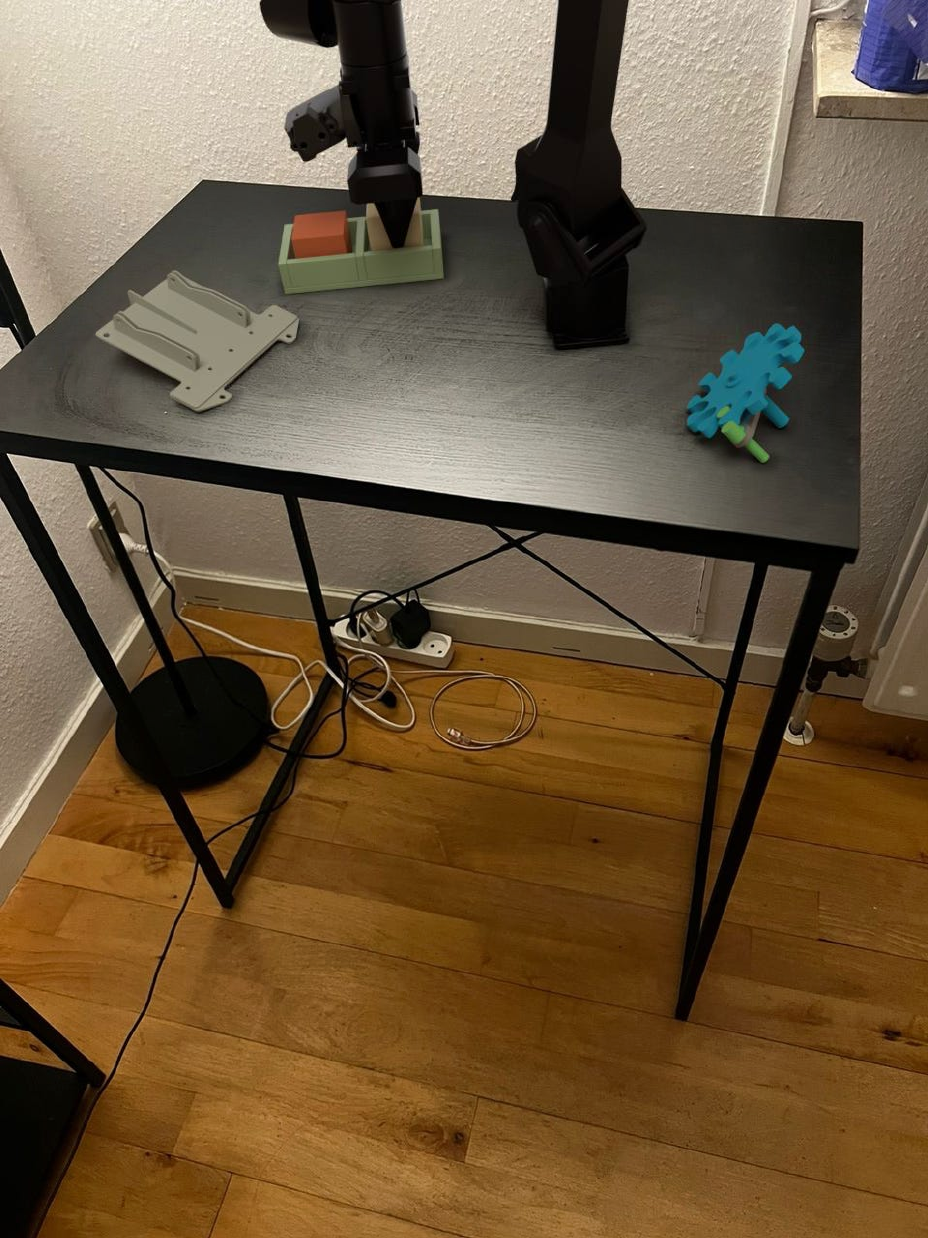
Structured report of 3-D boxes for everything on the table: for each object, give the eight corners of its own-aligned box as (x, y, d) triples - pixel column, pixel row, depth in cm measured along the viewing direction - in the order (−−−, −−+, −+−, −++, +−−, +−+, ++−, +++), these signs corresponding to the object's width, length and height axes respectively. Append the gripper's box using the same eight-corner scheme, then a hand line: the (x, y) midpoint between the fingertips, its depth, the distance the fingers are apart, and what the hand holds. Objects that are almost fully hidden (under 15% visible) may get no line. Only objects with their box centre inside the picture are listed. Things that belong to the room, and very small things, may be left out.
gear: (698, 357, 75) (804, 294, 67) (745, 404, 78) (852, 348, 70) (662, 455, 70) (772, 399, 62) (713, 503, 72) (826, 455, 64)
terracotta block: (352, 248, 94) (345, 209, 92) (350, 273, 91) (343, 234, 88) (303, 253, 95) (294, 214, 92) (299, 278, 91) (291, 239, 88)
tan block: (423, 229, 93) (418, 189, 90) (424, 253, 90) (419, 212, 87) (373, 234, 93) (366, 194, 90) (372, 259, 90) (365, 218, 87)
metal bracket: (66, 324, 78) (179, 241, 87) (77, 377, 83) (184, 293, 92) (208, 401, 77) (310, 308, 85) (212, 450, 81) (308, 358, 90)
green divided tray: (441, 238, 96) (437, 208, 93) (443, 278, 90) (440, 247, 88) (291, 253, 96) (284, 224, 94) (285, 294, 91) (278, 264, 88)
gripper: (287, 29, 86) (320, 199, 97) (269, 107, 73) (309, 291, 85) (408, 16, 85) (427, 188, 97) (411, 92, 73) (432, 279, 85)
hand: (398, 233), depth 91 cm, fingers closed on tan block, 5 cm apart
